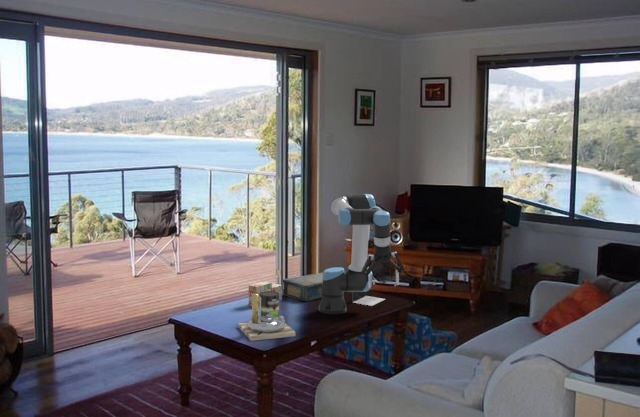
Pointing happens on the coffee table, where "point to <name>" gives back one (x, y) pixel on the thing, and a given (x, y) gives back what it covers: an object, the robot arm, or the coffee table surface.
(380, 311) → the coffee table surface
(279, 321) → the disc stand with rod
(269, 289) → the stack of blocks
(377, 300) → the laptop
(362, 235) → the robot arm
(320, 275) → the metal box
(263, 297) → the coffee can
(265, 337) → the base board
